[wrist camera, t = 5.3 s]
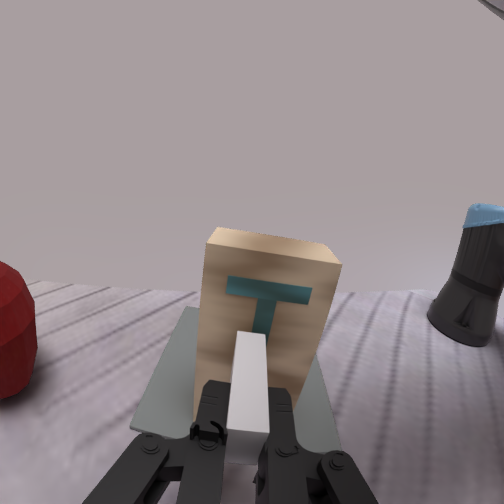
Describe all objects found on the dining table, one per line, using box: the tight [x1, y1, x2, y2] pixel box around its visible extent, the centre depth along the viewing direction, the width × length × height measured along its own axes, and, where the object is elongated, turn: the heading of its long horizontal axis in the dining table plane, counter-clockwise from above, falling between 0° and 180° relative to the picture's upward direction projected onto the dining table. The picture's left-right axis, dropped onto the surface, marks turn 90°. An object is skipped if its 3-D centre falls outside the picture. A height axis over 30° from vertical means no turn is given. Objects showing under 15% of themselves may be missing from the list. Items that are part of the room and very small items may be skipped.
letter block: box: [193, 227, 342, 422], centre depth 17 cm, size 7×4×14 cm, turn 88°
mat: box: [130, 306, 342, 454], centre depth 25 cm, size 16×20×1 cm
